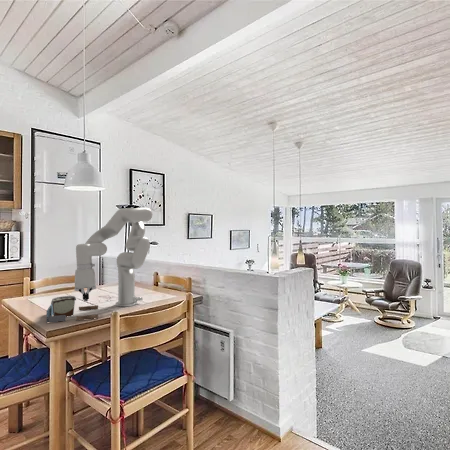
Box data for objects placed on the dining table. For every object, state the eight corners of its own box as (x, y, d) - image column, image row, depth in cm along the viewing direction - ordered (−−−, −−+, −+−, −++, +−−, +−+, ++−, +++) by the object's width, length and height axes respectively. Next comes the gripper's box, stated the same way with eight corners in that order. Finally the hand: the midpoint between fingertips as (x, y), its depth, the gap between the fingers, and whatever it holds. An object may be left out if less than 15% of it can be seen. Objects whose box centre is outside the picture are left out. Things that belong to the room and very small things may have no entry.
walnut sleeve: (98, 308, 186) (98, 305, 186) (97, 318, 165) (97, 314, 165) (79, 310, 182) (79, 306, 182) (76, 320, 162) (76, 316, 162)
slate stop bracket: (69, 311, 179) (69, 300, 179) (65, 321, 161) (65, 309, 161) (52, 313, 176) (52, 302, 176) (46, 323, 158) (46, 310, 158)
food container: (70, 313, 176) (70, 294, 176) (76, 315, 172) (76, 296, 173) (46, 318, 167) (46, 298, 167) (51, 320, 163) (51, 300, 163)
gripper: (99, 264, 180) (100, 297, 180) (69, 267, 174) (71, 300, 175) (99, 266, 173) (100, 300, 173) (68, 269, 167) (70, 304, 168)
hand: (85, 300), depth 174 cm, fingers closed
